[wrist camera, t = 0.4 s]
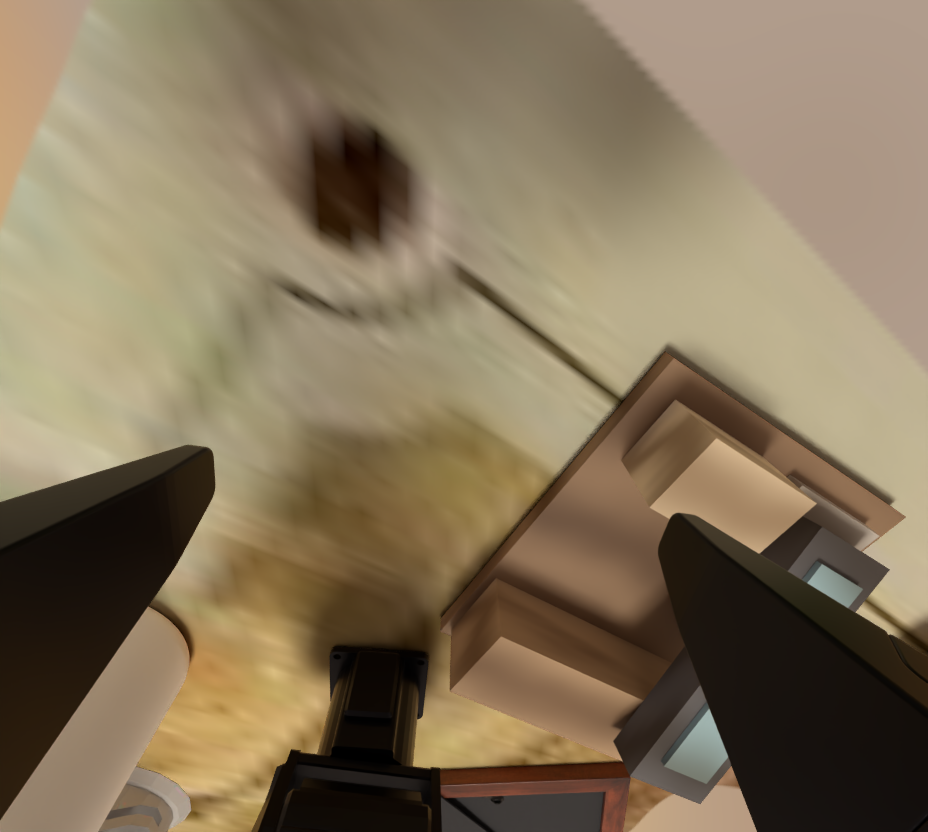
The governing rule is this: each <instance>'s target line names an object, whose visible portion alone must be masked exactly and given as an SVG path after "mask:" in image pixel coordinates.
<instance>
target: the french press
mask: <svg viewBox="0 0 928 832" xmlns="http://www.w3.org/2000/svg"><path fill="white" fill-rule="evenodd" d="M190 811H191V805H190V799H189V797H188V795H187V794H186V793H185V792H184V791H183V790H182V788H181V787H180V786H179V785H178V784H176V783H174V782H173V781H171V780H169V779H168V778H166V777H164V776H162V775H161V774H159V773H156V772H152V771H149V770H146V769H142V768H139V767H135V768H134V770H133V772H132V774H131V775H130V777H129V779H128V781H127V782H126V784H125V786H124V788H123V789H122V791H121V793H120V795H119V796H118V798H117V800H116V801H115V803H114V805H113V807H112V808H111V810H110V812H109V814H108V815H107V817H106V819H105V821H104V822H103V824H102V826H101V827H100V829H99V831H98V832H167V831H168V829H170V828H172V827H174V826H176V825H177V824H179V823H181V822H182V821H184V820H185V818H186V817H187V815H188V814H189V812H190Z"/></svg>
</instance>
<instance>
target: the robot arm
mask: <svg viewBox="0 0 928 832" xmlns="http://www.w3.org/2000/svg"><path fill="white" fill-rule="evenodd" d="M214 492H215V471H214V456H213V452H212V450H211V449H210V448H208V447H202V446H195V445H185V446H181V447H178V448H175V449H172V450H168V451H165V452H162V453H159V454H155V455H152V456H149V457H146V458H142V459H139V460H136V461H132V462H129V463H126V464H123V465H119V466H116V467H113V468H110V469H106V470H103V471H100V472H97V473H93V474H90V475H87V476H84V477H80V478H77V479H74V480H71V481H67V482H64V483H61V484H58V485H54V486H51V487H48V488H45V489H41V490H38V491H35V492H32V493H28V494H25V495H22V496H19V497H15V498H12V499H9V500H6V501H2V502H0V820H1V819H2V817H3V816H4V814H5V813H6V811H7V810H8V809H9V807H10V806H11V804H12V803H13V801H14V800H15V798H16V797H17V795H18V794H19V793H20V791H21V790H22V788H23V787H24V785H25V784H26V782H27V781H28V780H29V778H30V777H31V775H32V774H33V772H34V771H35V769H36V768H37V767H38V765H39V764H40V762H41V761H42V759H43V758H44V756H45V755H46V753H47V752H48V751H49V749H50V748H51V746H52V745H53V743H54V742H55V740H56V739H57V738H58V736H59V735H60V733H61V732H62V730H63V729H64V727H65V726H66V725H67V723H68V722H69V720H70V719H71V717H72V716H73V714H74V713H75V712H76V710H77V709H78V707H79V706H80V704H81V703H82V701H83V700H84V698H85V697H86V696H87V694H88V693H89V691H90V690H91V688H92V687H93V685H94V684H95V683H96V681H97V680H98V678H99V677H100V675H101V674H102V672H103V671H104V670H105V668H106V667H107V665H108V664H109V662H110V661H111V659H112V658H113V657H114V655H115V654H116V652H117V651H118V649H119V648H120V646H121V645H122V643H123V642H124V641H125V639H126V638H127V636H128V635H129V633H130V632H131V630H132V629H133V628H134V626H135V625H136V623H137V622H138V620H139V619H140V617H141V616H142V615H143V613H144V612H145V610H146V609H147V607H148V606H149V604H150V603H151V602H152V600H153V599H154V597H155V596H156V594H157V593H158V591H159V590H160V588H161V587H162V586H163V584H164V583H165V581H166V580H167V578H168V577H169V575H170V574H171V572H172V571H173V569H174V568H175V566H176V564H177V563H178V561H179V559H180V558H181V556H182V554H183V552H184V550H185V548H186V547H187V545H188V543H189V541H190V539H191V537H192V535H193V533H194V532H195V530H196V528H197V526H198V524H199V522H200V520H201V519H202V517H203V515H204V513H205V511H206V509H207V507H208V505H209V504H210V502H211V500H212V498H213V495H214ZM658 558H659V561H660V565H661V569H662V572H663V576H664V580H665V583H666V587H667V591H668V594H669V598H670V602H671V605H672V609H673V613H674V616H675V619H676V622H677V626H678V629H679V631H680V634H681V637H682V640H683V642H684V645H685V647H686V650H687V653H688V655H689V658H690V660H691V663H692V665H693V668H694V671H695V673H696V676H697V678H698V681H699V683H700V686H701V689H702V691H703V694H704V696H705V699H706V701H707V704H708V707H709V709H710V712H711V714H712V717H713V719H714V722H715V725H716V727H717V730H718V732H719V735H720V737H721V740H722V743H723V745H724V748H725V750H726V753H727V755H728V758H729V761H730V763H731V766H732V768H733V771H734V773H735V776H736V779H737V781H738V784H739V786H740V789H741V791H742V794H743V797H744V799H745V802H746V804H747V807H748V809H749V812H750V814H751V817H752V820H753V822H754V825H755V827H756V830H757V832H928V656H926V655H925V654H923V653H921V652H920V651H918V650H916V649H915V648H913V647H911V646H910V645H908V644H906V643H905V642H903V641H901V640H900V639H898V638H897V637H895V636H893V635H888V634H887V632H886V631H885V630H883V629H882V628H880V627H878V626H877V625H875V624H873V623H872V622H870V621H869V620H867V619H865V618H864V617H862V616H860V615H859V614H857V613H855V612H854V611H852V610H851V609H849V608H847V607H846V606H844V605H842V604H841V603H839V602H837V601H836V600H834V599H832V598H831V597H829V596H828V595H826V594H824V593H823V592H821V591H819V590H818V589H816V588H814V587H813V586H811V585H810V584H808V583H806V582H805V581H803V580H801V579H800V578H798V577H796V576H795V575H793V574H792V573H790V572H788V571H787V570H785V569H783V568H782V567H780V566H778V565H777V564H775V563H773V562H772V561H770V560H769V559H767V558H765V557H764V556H762V555H760V554H759V553H757V552H755V551H754V550H752V549H751V548H749V547H747V546H746V545H744V544H742V543H741V542H739V541H737V540H736V539H734V538H733V537H731V536H729V535H728V534H726V533H724V532H723V531H721V530H719V529H718V528H716V527H715V526H713V525H711V524H710V523H708V522H706V521H705V520H703V519H701V518H700V517H698V516H696V515H693V514H686V513H675V514H673V515H672V516H671V517H670V519H669V521H668V524H667V526H666V528H665V531H664V533H663V535H662V538H661V540H660V543H659V546H658ZM428 662H429V656H428V655H427V654H426V653H423V652H411V651H397V650H383V649H369V648H355V647H341V646H336V647H333V648H332V650H331V653H330V699H331V703H330V707H329V711H328V714H327V718H326V722H325V726H324V730H323V734H322V737H321V741H320V745H319V749H318V753H317V754H310V753H303V752H301V750H294V749H291V751H290V754H289V757H288V759H287V762H286V763H285V764H282V765H280V766H278V767H277V768H276V771H275V774H274V777H273V780H272V783H271V786H270V789H269V792H268V795H267V798H266V801H265V803H264V805H263V808H262V810H261V812H260V814H259V816H258V818H257V820H256V823H255V825H254V827H253V829H252V831H251V832H442V816H441V783H440V768H436V767H431V768H430V769H429V768H421V767H413V759H414V747H415V736H416V725H417V719H420V718H421V717H422V716H423V707H424V698H425V689H426V680H427V671H428Z"/></svg>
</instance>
